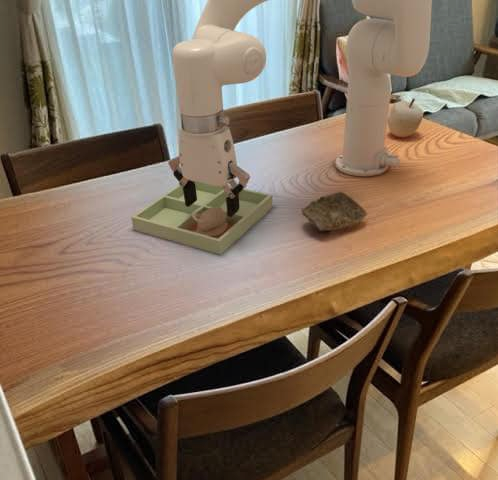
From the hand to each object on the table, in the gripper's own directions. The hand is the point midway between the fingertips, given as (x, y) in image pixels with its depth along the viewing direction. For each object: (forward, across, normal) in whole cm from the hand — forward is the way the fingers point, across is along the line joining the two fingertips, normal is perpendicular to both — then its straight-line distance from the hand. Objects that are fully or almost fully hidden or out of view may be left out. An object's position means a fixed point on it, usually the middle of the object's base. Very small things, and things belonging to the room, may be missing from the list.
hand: (212, 208), depth 104 cm
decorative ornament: (+5, 0, +1) cm, 5 cm away
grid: (+6, +5, -4) cm, 9 cm away
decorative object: (+8, -18, -66) cm, 69 cm away
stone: (+6, -20, -13) cm, 25 cm away
